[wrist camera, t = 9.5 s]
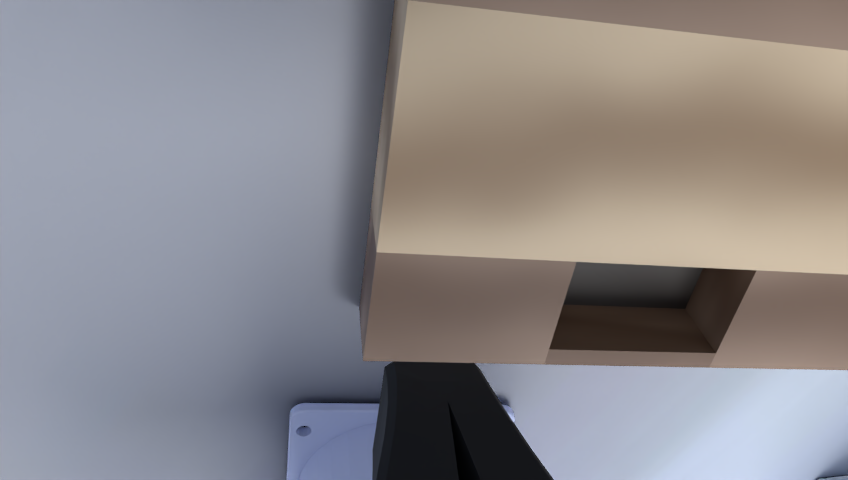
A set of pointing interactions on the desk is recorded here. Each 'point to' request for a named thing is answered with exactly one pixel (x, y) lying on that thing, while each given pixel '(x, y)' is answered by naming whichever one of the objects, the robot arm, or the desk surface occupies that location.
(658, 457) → the desk surface
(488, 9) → the trap board
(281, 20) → the desk surface
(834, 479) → the syrup box
